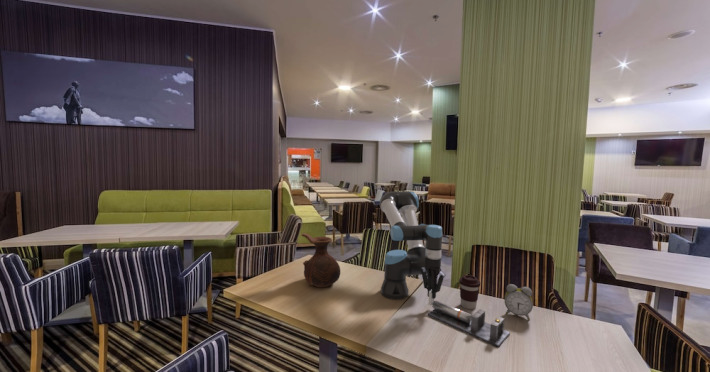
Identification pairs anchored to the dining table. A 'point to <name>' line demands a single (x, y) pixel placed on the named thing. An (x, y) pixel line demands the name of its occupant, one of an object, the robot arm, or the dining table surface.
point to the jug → (321, 264)
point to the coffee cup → (469, 291)
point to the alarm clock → (518, 300)
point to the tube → (452, 311)
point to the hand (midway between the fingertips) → (431, 303)
